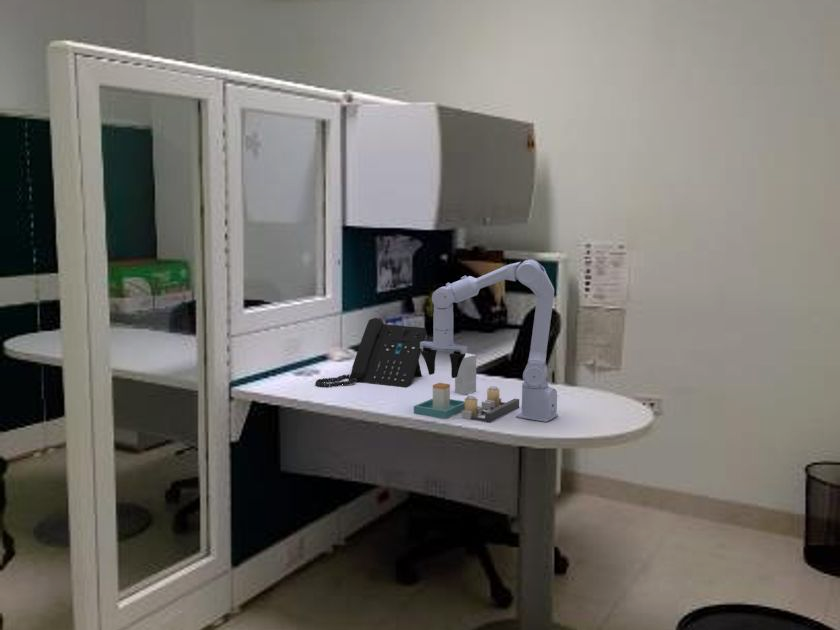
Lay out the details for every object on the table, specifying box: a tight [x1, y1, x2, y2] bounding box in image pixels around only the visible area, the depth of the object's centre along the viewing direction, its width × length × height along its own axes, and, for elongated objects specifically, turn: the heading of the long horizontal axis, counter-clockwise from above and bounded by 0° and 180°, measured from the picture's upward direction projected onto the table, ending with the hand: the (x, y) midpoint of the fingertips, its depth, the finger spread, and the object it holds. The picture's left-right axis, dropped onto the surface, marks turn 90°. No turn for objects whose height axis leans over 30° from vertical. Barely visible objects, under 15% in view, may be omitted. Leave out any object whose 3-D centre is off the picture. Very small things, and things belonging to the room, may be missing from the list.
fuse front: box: [464, 395, 479, 417], centre depth 224 cm, size 4×4×6 cm
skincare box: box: [454, 352, 477, 396], centre depth 251 cm, size 6×4×12 cm
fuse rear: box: [486, 386, 501, 407], centre depth 235 cm, size 4×4×6 cm
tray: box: [413, 398, 465, 420], centre depth 230 cm, size 11×13×2 cm
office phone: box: [314, 317, 428, 388], centre depth 265 cm, size 29×28×20 cm
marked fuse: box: [432, 382, 451, 410], centre depth 229 cm, size 4×4×7 cm
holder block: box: [461, 397, 520, 424], centre depth 228 cm, size 9×19×2 cm, turn 148°
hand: (443, 375), depth 229 cm, fingers open, 7 cm apart
